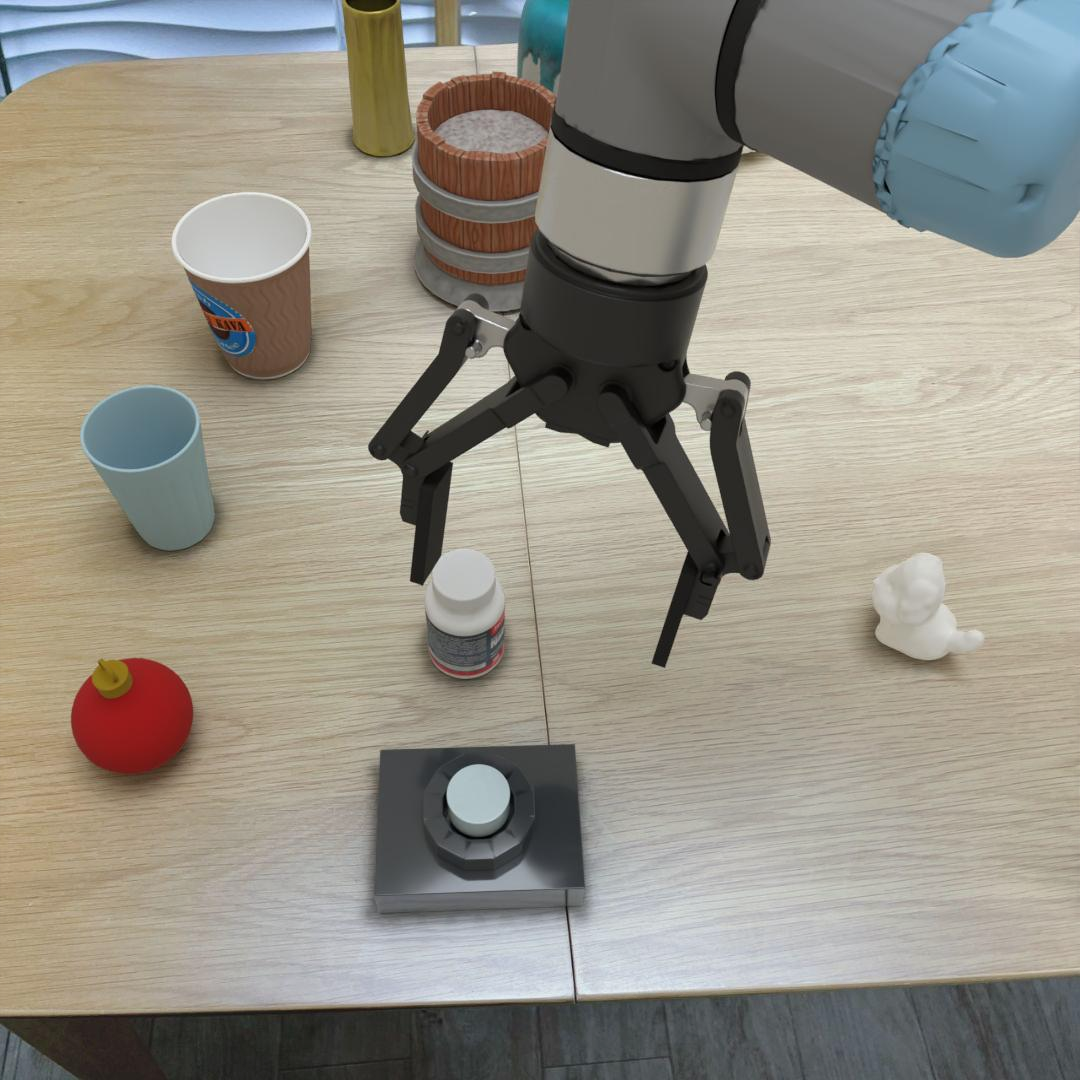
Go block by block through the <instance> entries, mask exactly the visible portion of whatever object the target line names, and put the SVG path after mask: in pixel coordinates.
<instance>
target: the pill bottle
mask: <svg viewBox="0 0 1080 1080" xmlns="http://www.w3.org/2000/svg"><path fill="white" fill-rule="evenodd" d="M496 575H497V574H496V568H495V566H494V564H493V562H492V560H491V559H490V558H489V557H488V556H487V555H486V554H484V553H482V552H481V551H479V550H476V549H472V548H457V549H452V550H450V551H448V552H446V553H444V554H443V555H441V557H440V559H439V560H438V562H437V563H436V565H435V567H434V568H433V570H432V571H431V580H430V582H429V583H428V585H427V587H426V589H425V593H424V612H425V613H424V614H425V620H426V621H425V622H426V632H427V633H426V635H427V649H428V654H429V657H430V659H431V661H432V663H433V665H434V666H435V667H436V668H437V669H438V670H439V671H441V673H443V674H445V675H447V676H449V677H452V678H455V679H462V680H468V679H475V678H479V677H482V676H484V675H486V674H488V673H489V672H491V671H493V669H495V668H496V666H498V664H499V663H500V661H501V660H502V657H503V654H504V651H505V642H506V640H505V639H506V638H505V635H506V634H505V633H506V632H505V631H506V629H505V628H506V627H505V625H506V623H505V621H506V597H505V591H504V588H503V585H502V584H501V582H500V581H499V579H498V578H497V577H496Z"/></svg>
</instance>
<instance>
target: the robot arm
mask: <svg viewBox="0 0 1080 1080" xmlns="http://www.w3.org/2000/svg"><path fill="white" fill-rule="evenodd" d="M744 146H746V147H748V148H749V149H751V150H753V151H756V152H761V153H762V154H764V155H767V156H768V157H770V158H773V159H775V160H777V161H779V162H781V163H783V164H785V165H787V166H789V167H791V168H794V169H796V170H798V171H799V172H802V173H803V174H806V175H808V176H809V177H812V178H814V179H815V180H818V181H820V182H822V183H823V184H825V185H827V186H830V187H832V188H833V189H835V190H837V191H840V192H842V193H843V194H845V195H848V196H850V197H851V198H853V199H856V200H857V201H859V202H862V203H863V204H866V205H868V206H869V207H871V208H874V209H875V210H877V211H880V212H881V213H884V214H885V215H886V216H887V217H888V218H889V219H891V220H892V221H896V222H897V223H898V224H899V226H902V227H903V228H906V229H910V228H911V229H913V230H915V231H918V232H919V233H923V232H927V231H928V232H931V233H933V234H936V235H938V236H941V237H943V238H946V239H949V240H951V241H954V242H956V243H958V244H961V245H964V246H967V247H969V248H972V249H974V250H978V251H979V252H983V253H985V254H988V255H990V256H993V257H996V258H1000V259H1019V258H1023V257H1027V256H1029V255H1033V254H1035V253H1036V252H1038V251H1040V250H1042V249H1044V248H1046V247H1047V246H1049V245H1050V244H1051V243H1053V242H1054V241H1055V240H1057V238H1059V236H1060V235H1062V234H1063V233H1064V232H1065V231H1066V230H1067V229H1068V227H1070V225H1071V224H1073V222H1074V221H1075V220H1076V218H1077V216H1078V214H1079V213H1080V0H570V2H569V10H568V18H567V26H566V34H565V42H564V50H563V58H562V65H561V72H560V79H559V86H558V93H557V98H555V100H554V109H553V114H552V118H551V123H550V129H549V135H548V141H547V146H546V152H545V158H544V164H543V170H542V175H541V181H540V187H539V193H538V198H537V204H536V210H535V222H536V224H537V226H538V228H539V229H538V230H537V231H536V232H535V233H534V234H533V236H532V239H531V244H530V250H529V256H528V262H527V269H526V275H525V281H524V287H523V294H522V300H521V306H520V309H519V313H518V317H517V318H516V320H513V319H511V318H508V317H506V316H503V315H501V314H499V313H498V312H492V311H489V304H488V301H487V300H486V299H485V297H484V296H482V295H480V294H477V293H473V294H470V295H468V296H467V297H466V298H465V299H464V301H463V302H462V303H461V304H460V305H459V306H457V308H456V309H455V310H454V311H453V312H452V313H451V314H450V316H449V317H448V318H447V320H446V322H445V325H444V329H443V334H442V337H441V341H440V346H439V350H438V354H437V355H435V357H434V358H433V360H432V362H430V364H429V365H428V366H427V368H426V369H425V370H424V371H423V373H422V374H421V375H420V377H419V378H418V380H417V381H415V383H414V384H413V386H412V387H411V388H410V390H409V391H408V392H407V393H406V394H405V396H404V397H403V398H402V400H401V401H400V402H399V404H398V405H397V406H396V408H395V409H394V411H393V412H392V413H391V414H390V415H389V416H388V418H387V419H386V420H385V422H384V423H383V424H382V425H381V427H380V428H379V429H378V431H377V432H376V433H375V434H374V436H373V437H372V439H371V440H370V441H369V443H368V445H367V450H368V452H369V455H371V456H372V457H373V458H374V459H376V460H378V461H386V460H389V461H391V462H392V463H393V464H395V465H396V466H397V467H398V468H399V470H400V473H401V475H402V483H401V495H400V505H399V515H400V518H401V521H402V522H403V523H406V524H410V525H413V526H415V528H414V537H413V547H412V556H411V566H410V574H409V575H410V576H409V582H411V583H413V584H416V585H420V586H422V587H423V586H424V584H426V583H425V582H426V581H427V579H428V578H429V576H430V574H432V570H433V568H434V567H435V565H436V563H437V562H438V560H439V559H440V557H441V556H442V554H443V553H442V552H443V545H444V538H445V530H446V523H447V515H448V514H447V513H448V507H449V499H450V492H451V490H450V489H451V483H452V476H453V475H452V474H453V469H454V462H453V460H456V459H457V458H458V457H460V456H462V455H463V454H465V453H467V452H468V451H470V450H472V449H473V448H475V447H477V446H478V445H480V444H482V443H483V442H485V441H486V440H488V439H489V438H492V437H494V436H495V435H496V434H498V433H500V432H501V431H503V430H504V429H511V428H513V427H515V426H517V425H518V424H520V423H521V422H523V421H525V420H526V419H528V418H529V417H531V416H533V415H536V416H537V417H538V419H540V420H541V421H542V422H544V423H545V425H544V428H545V429H547V430H551V431H554V432H557V433H560V434H573V435H578V436H580V437H582V438H584V439H585V440H586V441H589V442H590V443H592V444H596V445H599V446H601V447H604V448H610V445H611V444H620V445H621V446H622V448H623V450H624V452H625V453H626V455H627V457H628V459H629V460H630V462H631V464H632V466H633V467H634V468H635V469H636V470H637V471H642V473H643V474H644V476H645V478H646V479H647V480H646V481H648V483H649V484H650V486H651V488H652V491H653V492H654V494H655V495H656V497H657V499H658V501H659V504H661V506H662V508H663V509H664V511H665V513H666V515H667V517H668V518H669V520H670V522H671V524H672V525H673V527H674V529H675V531H676V533H677V534H678V537H679V538H680V539H681V541H682V543H683V545H684V546H685V548H686V550H687V553H686V556H685V559H684V561H683V564H682V567H681V571H680V574H679V576H678V580H677V582H676V586H675V589H674V592H673V595H672V598H671V602H670V604H669V607H668V611H667V613H666V616H665V620H664V623H663V626H662V629H661V632H660V636H659V638H658V641H657V644H656V647H655V649H654V654H653V657H652V660H651V664H652V665H654V666H658V667H660V668H663V669H666V667H667V664H668V661H669V657H670V655H671V651H672V649H673V647H674V643H675V640H676V637H677V634H678V632H679V628H680V625H681V623H682V619H683V616H687V617H691V618H693V619H695V620H700V621H702V620H704V619H705V617H707V616H708V615H709V612H710V609H711V606H712V604H713V601H714V599H715V596H716V592H717V589H718V587H719V585H720V584H721V582H722V578H723V577H724V576H727V575H729V574H739V575H740V576H741V577H742V578H744V579H746V580H748V581H757V580H759V579H761V578H762V577H763V575H764V573H765V571H766V570H765V569H766V565H767V561H768V557H769V553H770V548H771V544H772V538H771V534H770V529H769V524H768V519H767V514H766V510H765V506H764V500H763V497H762V492H761V487H760V482H759V477H758V474H757V469H756V465H755V460H754V459H755V458H754V454H753V450H752V449H753V448H752V445H751V440H750V436H749V431H748V427H747V421H746V413H747V408H748V404H749V397H750V393H751V387H752V381H751V379H750V377H749V375H747V374H746V373H745V372H743V371H739V370H734V371H731V372H729V373H728V374H727V375H726V376H725V378H724V379H721V378H716V377H710V376H707V375H706V376H705V375H700V374H697V373H696V374H695V373H691V372H690V368H689V365H688V360H687V359H688V358H687V356H688V350H689V346H690V342H691V338H692V335H693V332H694V327H695V324H696V320H697V317H698V313H699V310H700V305H701V303H702V299H703V295H704V292H705V288H706V285H707V281H708V278H709V273H708V272H709V271H708V267H707V263H709V262H710V261H711V260H712V258H713V256H714V254H715V251H716V248H717V246H718V242H719V237H720V234H721V230H722V227H723V224H724V220H725V217H726V212H727V209H728V205H729V202H730V198H731V195H732V191H733V188H734V184H735V180H736V177H737V173H738V169H739V164H740V161H741V158H742V155H743V154H742V151H743V147H744ZM495 347H496V348H503V354H504V357H505V359H506V361H507V363H508V365H509V367H510V369H511V372H512V373H513V374H514V376H512V378H510V379H509V380H508V381H507V382H505V383H504V384H503V385H502V386H501V385H500V387H498V388H497V389H495V390H494V391H492V392H490V393H489V394H488V395H486V396H485V397H482V398H481V399H480V400H478V401H476V402H475V403H473V404H472V405H470V406H468V407H467V408H465V409H464V410H463V411H461V412H460V413H457V414H456V415H454V416H453V417H452V418H450V419H448V420H447V421H445V422H444V423H442V424H440V426H437V427H436V428H434V429H433V430H432V431H429V430H428V429H427V430H426V431H425V432H424V433H423V435H422V436H420V435H418V434H417V433H415V432H413V431H412V430H413V429H414V427H415V426H416V425H417V424H418V422H419V421H420V420H421V418H422V417H423V416H424V415H425V414H426V413H427V411H428V410H429V409H430V408H431V406H432V405H433V404H434V403H435V402H436V401H437V399H438V398H439V396H441V394H442V393H443V391H444V390H445V389H446V388H447V387H448V385H449V384H450V383H451V382H452V381H453V379H454V378H455V376H456V375H457V374H458V372H460V370H461V368H463V366H464V365H465V363H466V362H467V361H468V360H473V359H475V358H476V359H480V358H483V357H485V356H486V355H487V354H488V352H489V351H490V350H491V349H492V348H495ZM683 403H684V404H687V405H689V406H690V407H691V408H693V410H694V412H695V417H696V421H697V423H698V424H699V426H700V429H701V430H703V431H705V432H709V451H710V457H711V461H712V466H713V470H714V474H715V478H716V482H717V487H718V490H719V491H718V492H719V496H720V499H721V503H722V507H723V512H724V516H725V520H726V524H727V526H726V524H725V522H724V520H723V519H722V517H721V515H720V513H719V511H718V510H717V508H716V506H715V504H714V502H713V501H712V499H711V497H710V495H709V494H708V491H707V490H706V488H705V486H704V483H703V482H702V480H701V479H700V477H699V474H698V473H697V471H696V469H695V468H694V466H693V464H692V462H691V460H690V458H689V455H687V453H686V451H685V449H684V447H683V446H682V444H681V442H680V440H679V438H678V436H677V431H676V425H675V421H674V420H673V417H672V416H671V412H673V411H675V410H676V409H678V408H679V407H680V406H681V405H682V404H683Z"/></svg>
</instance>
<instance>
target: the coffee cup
mask: <svg viewBox="0 0 1080 1080" xmlns="http://www.w3.org/2000/svg"><path fill="white" fill-rule="evenodd" d="M171 235H172V236H171V250H172V251H171V252H172V254H173V256H174V258H175V259H176V261H177V262H178V263H179V264H180V265H181V266H182V267H183V270H184V272H185V274H186V276H187V279H188V282H189V284H190V285H191V288H192V290H193V292H194V293H193V294H194V295H195V297H196V299H197V301H198V303H199V306H200V308H201V310H202V313H203V315H204V318H205V320H206V322H207V324H208V327H209V328H210V330H211V333H212V335H213V338H214V339H215V341H216V343H217V344H218V347H219V349H220V352H221V354H222V355H223V357H224V358H225V359H226V361H227V363H228V364H229V366H230V367H231V368H232V369H233V371H235V372H237V373H238V374H240V375H241V376H244V377H245V378H249V379H253V380H272V379H273V380H274V379H279V378H282V377H284V376H288V375H289V374H291V373H293V372H295V371H296V370H298V369H299V368H300V367H301V366H302V365H303V364H305V363H306V360H307V359H308V357H309V355H310V352H311V344H312V343H311V341H312V340H313V339H312V338H313V337H312V336H313V335H312V333H313V332H312V302H311V300H312V299H311V298H312V297H311V265H310V263H311V261H310V259H311V258H310V244H311V242H312V238H313V237H312V236H313V228H312V224H311V222H310V219H309V217H308V215H307V214H306V213H305V212H304V211H303V210H302V208H300V207H299V206H298V204H295V203H294V202H292V201H290V200H288V199H287V198H285V197H282V196H279V195H276V194H271V193H267V192H260V191H259V192H258V191H242V192H233V193H226V194H222V195H219V196H216V197H213V198H210V199H207V200H205V201H203V202H201V203H199V204H197V205H196V206H194V207H193V208H191V209H190V210H188V211H187V212H186V213H185V214H184V215H183V216H182V217H181V218H180V219H179V220H178V222H177V223H176V225H175V227H174V228H173V232H172V234H171Z"/></svg>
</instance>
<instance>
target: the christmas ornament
mask: <svg viewBox="0 0 1080 1080" xmlns="http://www.w3.org/2000/svg"><path fill="white" fill-rule="evenodd" d="M97 664H98V666H96V667H95V669H94V670H93V672H92V674H91V675H90V676H88V677H87V678H86V680H85V681H84V682H83V683H82V685H81V686H80V688H79V690H78V691H77V692H76V695H75V697H74V700H73V703H72V706H71V713H70V726H71V727H70V728H71V733H72V735H73V739H74V741H75V742H76V743H75V744H76V746H77V747H78V749H79V750H80V752H81V753H82V754H83V756H85V757H86V758H87V759H88V760H89V761H90V762H91V763H92V764H94V765H95V766H97V767H99V768H101V769H103V770H105V771H108V772H111V773H115V774H119V775H136V774H143V773H147V772H150V771H153V770H155V769H158V768H160V767H161V766H163V765H165V764H166V763H168V762H169V761H170V760H172V759H173V758H174V757H175V756H176V755H177V754H178V753H179V752H180V750H181V749H182V748H183V746H184V745H185V744H186V742H187V740H188V738H189V736H190V733H191V731H192V726H193V722H194V704H193V699H192V696H191V693H190V691H189V689H188V687H187V685H186V683H185V682H184V681H183V679H182V677H180V675H179V674H178V673H177V672H175V671H174V670H173V669H171V668H170V667H168V666H166V665H165V664H164V663H161V662H158V661H156V660H153V659H149V658H142V657H130V658H122V659H109V660H105V659H104V658H100V659H98V660H97Z"/></svg>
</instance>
